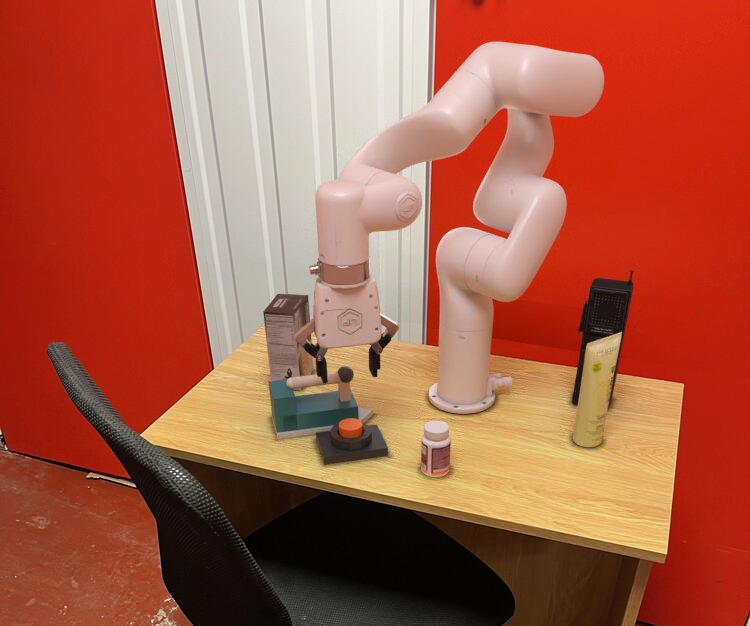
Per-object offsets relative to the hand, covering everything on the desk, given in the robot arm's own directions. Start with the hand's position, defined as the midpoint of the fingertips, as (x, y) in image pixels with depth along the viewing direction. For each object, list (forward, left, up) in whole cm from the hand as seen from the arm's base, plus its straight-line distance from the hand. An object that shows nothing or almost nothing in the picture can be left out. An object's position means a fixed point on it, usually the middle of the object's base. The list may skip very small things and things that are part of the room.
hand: (348, 376), depth 126 cm
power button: (0, 0, -11) cm, 11 cm away
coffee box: (+6, -28, -14) cm, 32 cm away
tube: (-40, +8, -14) cm, 43 cm away
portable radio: (-47, -5, -14) cm, 49 cm away
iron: (+3, -10, -14) cm, 17 cm away
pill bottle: (-12, +10, -14) cm, 21 cm away
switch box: (0, 0, -14) cm, 14 cm away
